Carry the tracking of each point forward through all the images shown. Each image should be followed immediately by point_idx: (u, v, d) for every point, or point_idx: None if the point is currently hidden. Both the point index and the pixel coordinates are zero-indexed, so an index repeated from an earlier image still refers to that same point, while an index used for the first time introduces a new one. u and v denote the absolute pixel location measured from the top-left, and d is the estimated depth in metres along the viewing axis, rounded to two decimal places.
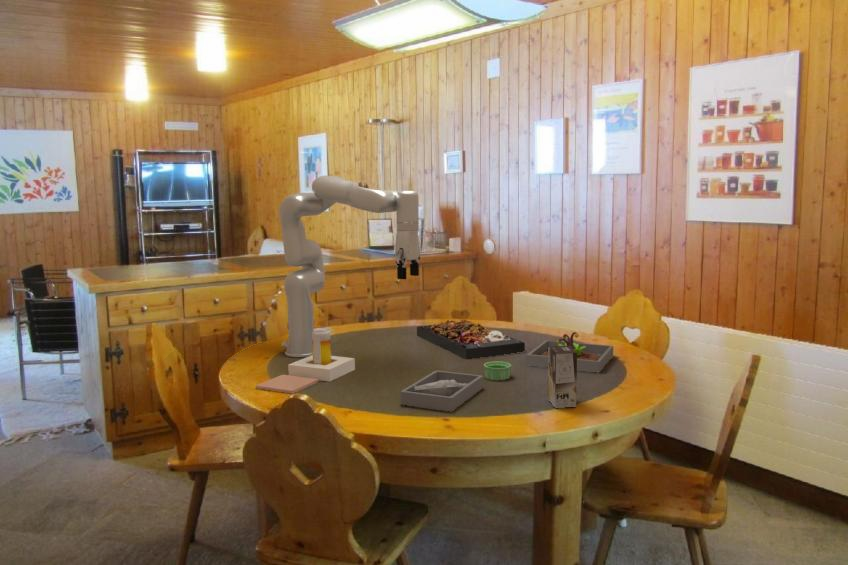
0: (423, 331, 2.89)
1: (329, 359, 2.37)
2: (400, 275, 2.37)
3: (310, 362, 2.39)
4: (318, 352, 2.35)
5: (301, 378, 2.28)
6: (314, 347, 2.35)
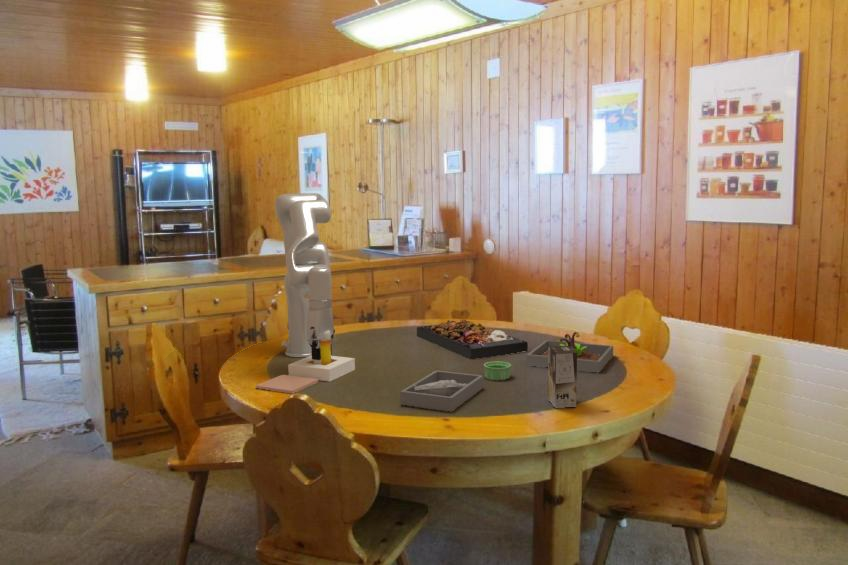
0: (424, 331, 2.88)
1: (329, 359, 2.37)
2: (314, 356, 2.34)
3: (310, 362, 2.39)
4: None
5: (301, 378, 2.28)
6: None
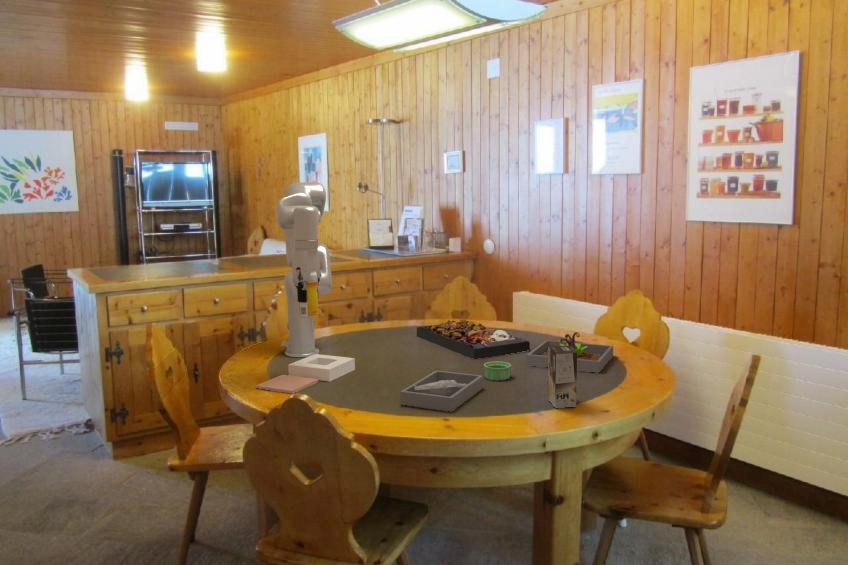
0: (424, 332, 2.88)
1: (316, 302, 2.29)
2: (300, 298, 2.26)
3: (310, 362, 2.39)
4: None
5: (301, 378, 2.28)
6: None
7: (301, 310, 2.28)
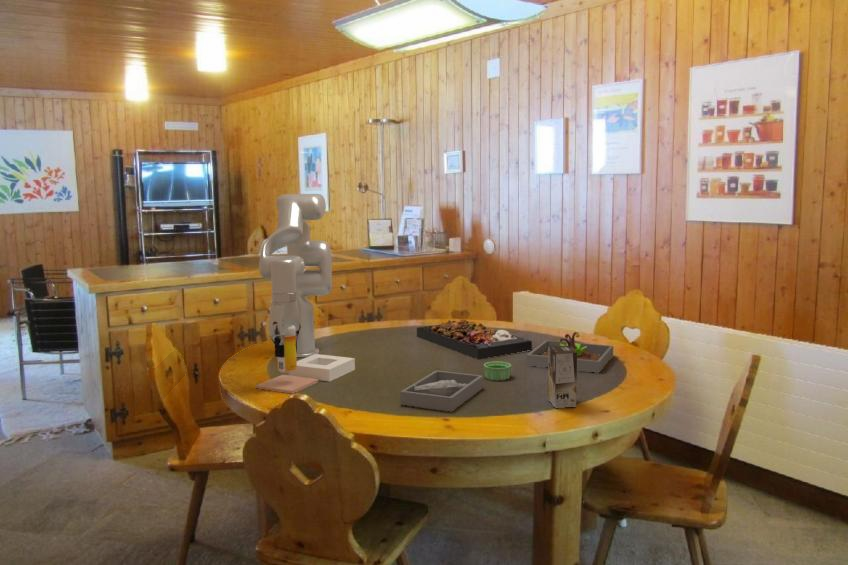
0: (425, 332, 2.87)
1: (294, 356, 2.22)
2: (277, 353, 2.19)
3: (310, 362, 2.39)
4: None
5: (301, 378, 2.28)
6: None
7: (279, 365, 2.21)
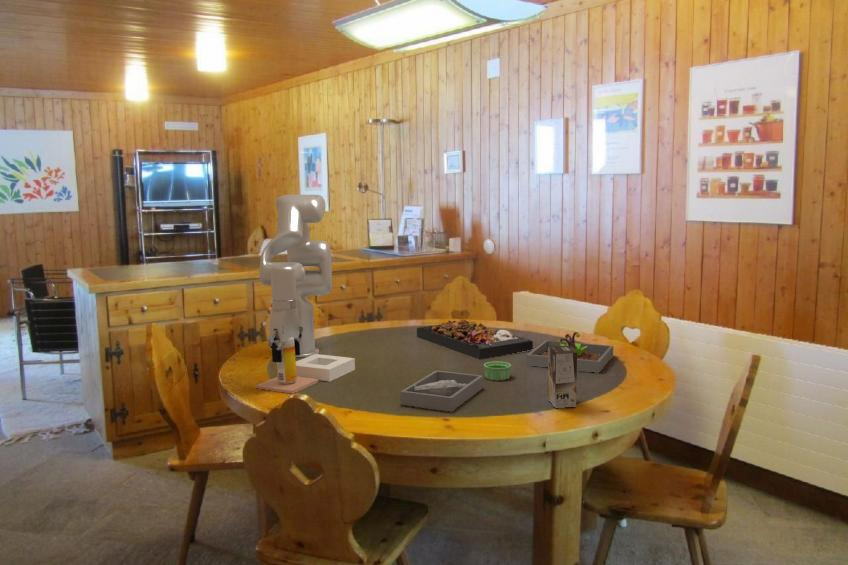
0: (425, 332, 2.87)
1: (294, 367, 2.22)
2: (274, 358, 2.18)
3: (310, 362, 2.39)
4: (282, 360, 2.20)
5: (301, 378, 2.28)
6: None
7: (279, 376, 2.21)
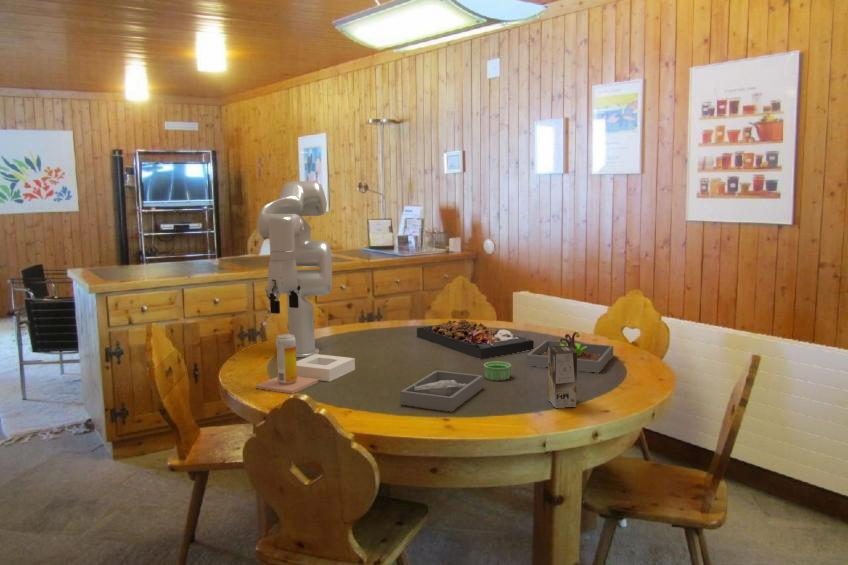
0: (425, 332, 2.87)
1: (294, 367, 2.22)
2: (273, 309, 2.16)
3: (310, 362, 2.39)
4: (282, 360, 2.20)
5: (301, 378, 2.28)
6: (278, 355, 2.21)
7: (279, 376, 2.21)
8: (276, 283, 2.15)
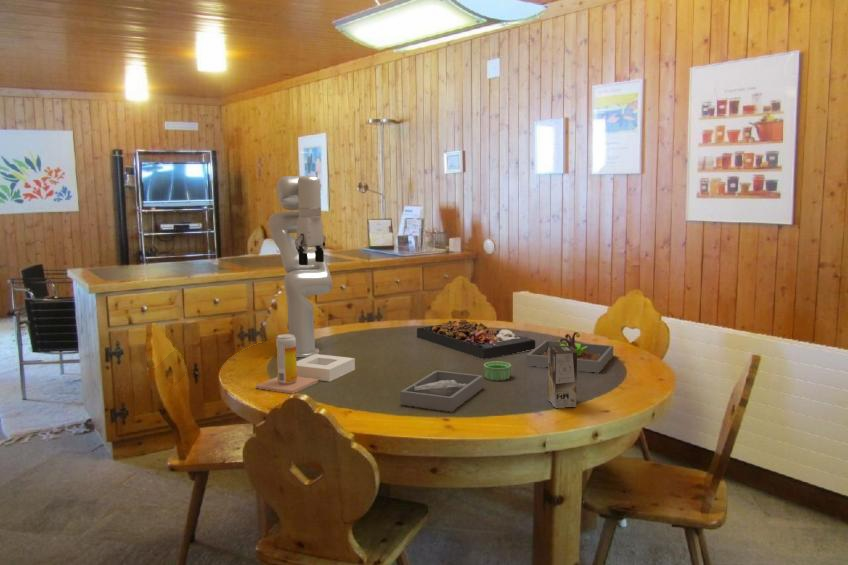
0: (426, 332, 2.86)
1: (294, 367, 2.22)
2: (301, 261, 2.37)
3: (310, 362, 2.39)
4: (283, 360, 2.20)
5: (301, 378, 2.28)
6: (278, 355, 2.21)
7: (279, 376, 2.21)
8: (304, 237, 2.36)
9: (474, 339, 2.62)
